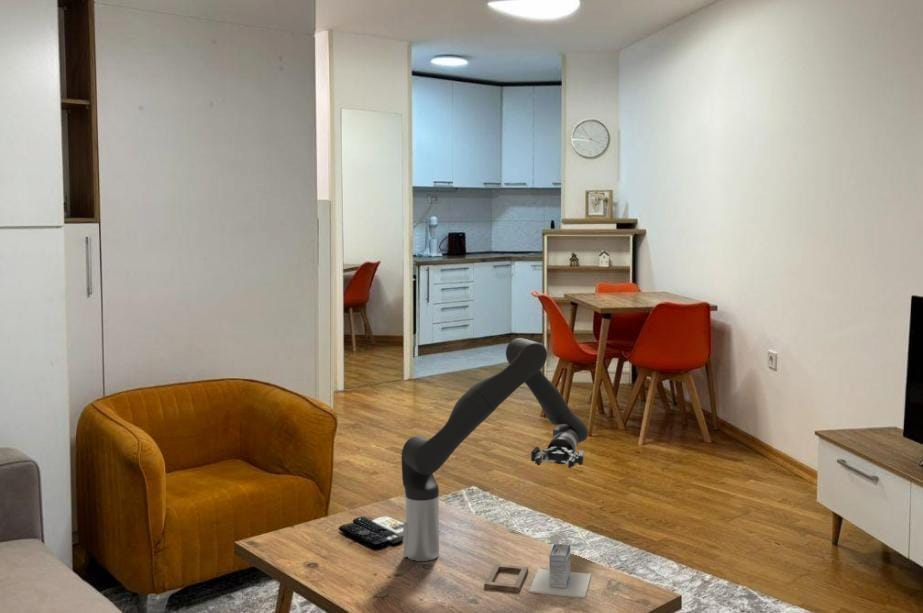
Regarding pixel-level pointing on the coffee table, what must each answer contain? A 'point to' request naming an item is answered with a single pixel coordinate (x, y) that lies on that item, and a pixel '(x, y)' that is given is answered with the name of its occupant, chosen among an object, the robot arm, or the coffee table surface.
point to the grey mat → (574, 588)
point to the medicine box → (559, 566)
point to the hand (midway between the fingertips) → (553, 463)
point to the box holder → (503, 586)
